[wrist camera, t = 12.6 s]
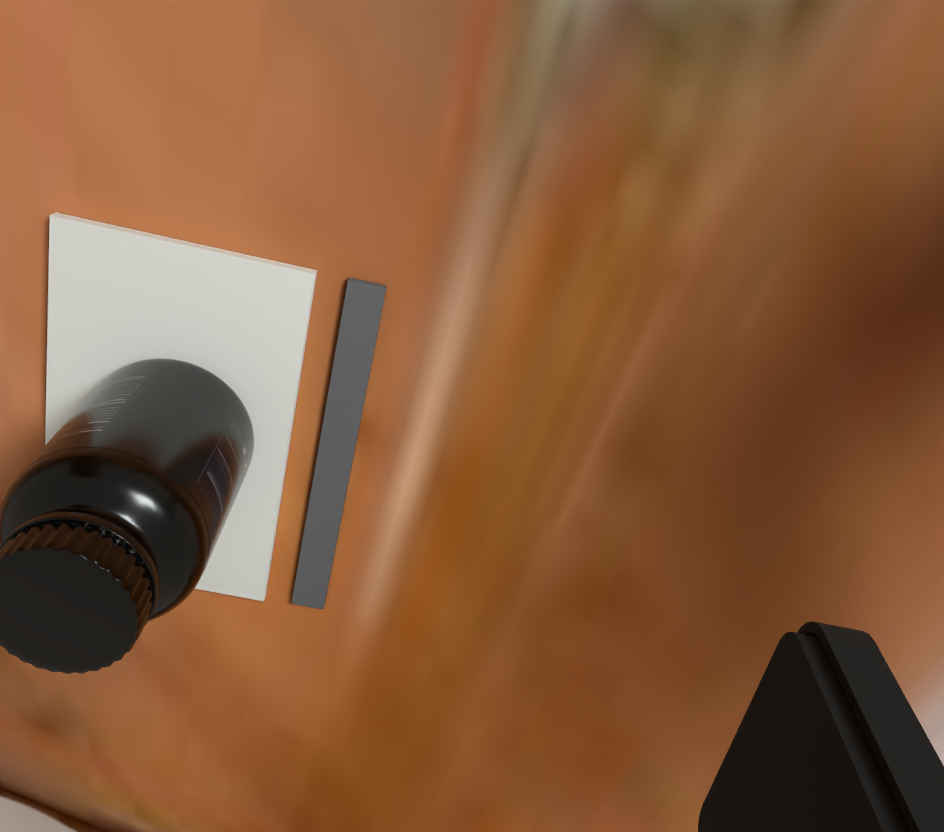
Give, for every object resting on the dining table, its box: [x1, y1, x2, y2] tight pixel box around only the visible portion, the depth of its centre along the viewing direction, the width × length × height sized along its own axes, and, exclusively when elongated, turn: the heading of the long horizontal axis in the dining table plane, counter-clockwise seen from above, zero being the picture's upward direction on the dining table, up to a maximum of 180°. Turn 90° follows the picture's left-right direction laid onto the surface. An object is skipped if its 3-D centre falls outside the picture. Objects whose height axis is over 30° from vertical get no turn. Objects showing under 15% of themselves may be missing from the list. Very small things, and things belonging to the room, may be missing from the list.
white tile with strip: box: [45, 212, 387, 609], centre depth 37 cm, size 13×16×1 cm
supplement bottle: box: [0, 358, 254, 674], centre depth 31 cm, size 7×7×12 cm
